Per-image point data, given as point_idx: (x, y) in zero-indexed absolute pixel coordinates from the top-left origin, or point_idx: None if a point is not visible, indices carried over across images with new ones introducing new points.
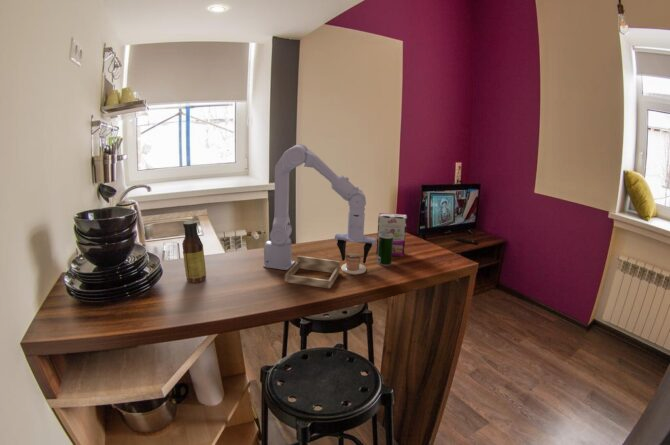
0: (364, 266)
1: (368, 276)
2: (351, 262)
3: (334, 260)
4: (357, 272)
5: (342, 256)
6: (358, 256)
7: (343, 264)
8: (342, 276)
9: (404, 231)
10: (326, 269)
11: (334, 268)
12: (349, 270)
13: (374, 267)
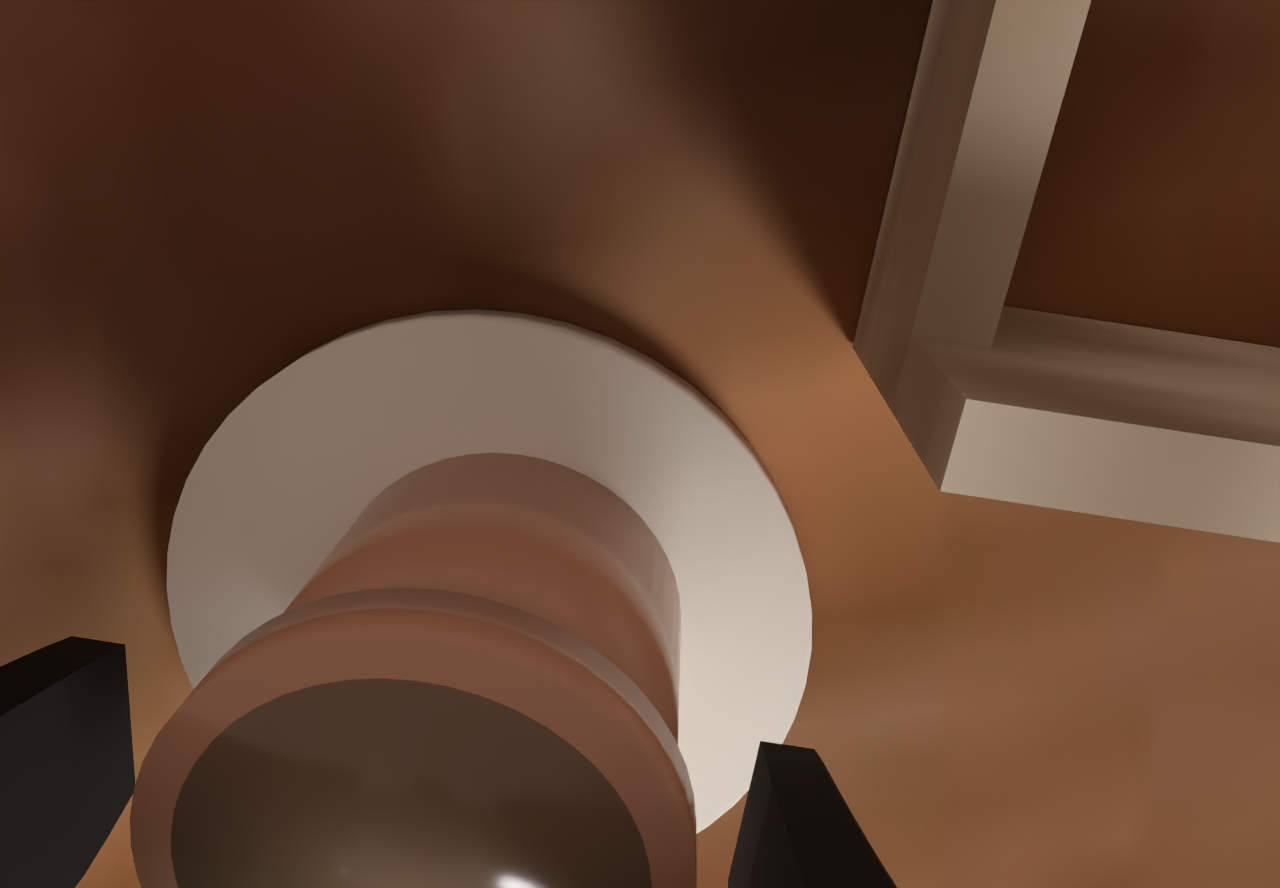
0: None
1: (47, 259)
2: (475, 574)
3: (1172, 518)
4: (339, 365)
5: (838, 842)
6: (214, 882)
7: None
8: (750, 125)
9: None
10: (1275, 358)
11: (1047, 338)
12: (574, 457)
13: None
